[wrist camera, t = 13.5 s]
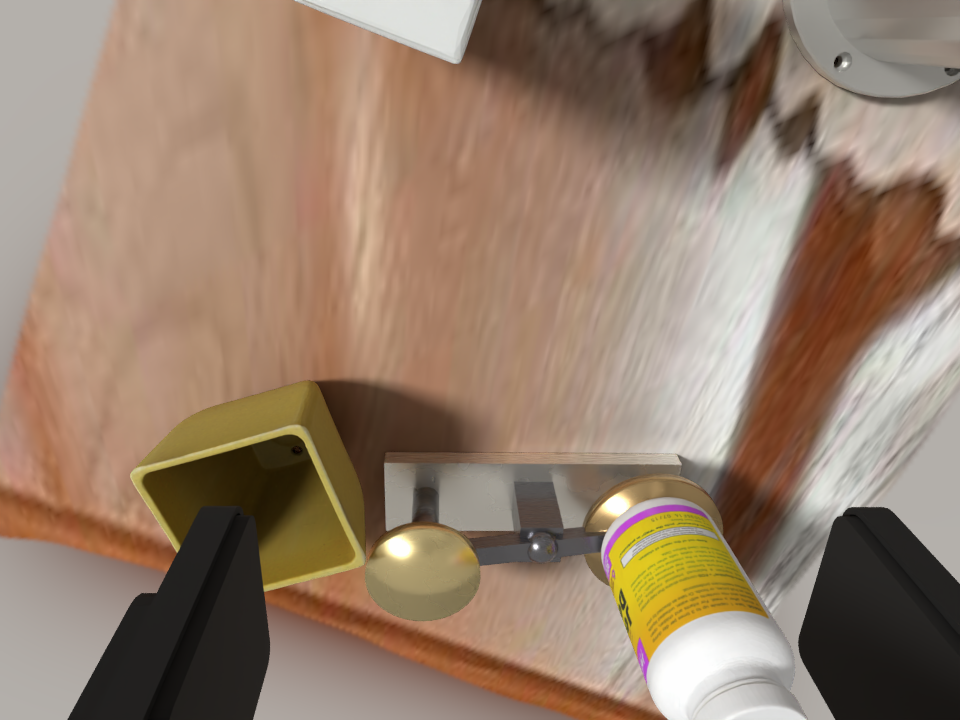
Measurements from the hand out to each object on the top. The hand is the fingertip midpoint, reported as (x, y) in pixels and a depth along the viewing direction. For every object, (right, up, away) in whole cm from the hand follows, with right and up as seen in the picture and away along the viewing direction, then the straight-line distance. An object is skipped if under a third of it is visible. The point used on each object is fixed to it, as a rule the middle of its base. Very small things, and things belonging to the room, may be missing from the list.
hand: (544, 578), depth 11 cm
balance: (+2, -5, +33) cm, 34 cm away
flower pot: (-12, 0, +31) cm, 33 cm away
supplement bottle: (+9, -7, +29) cm, 31 cm away
